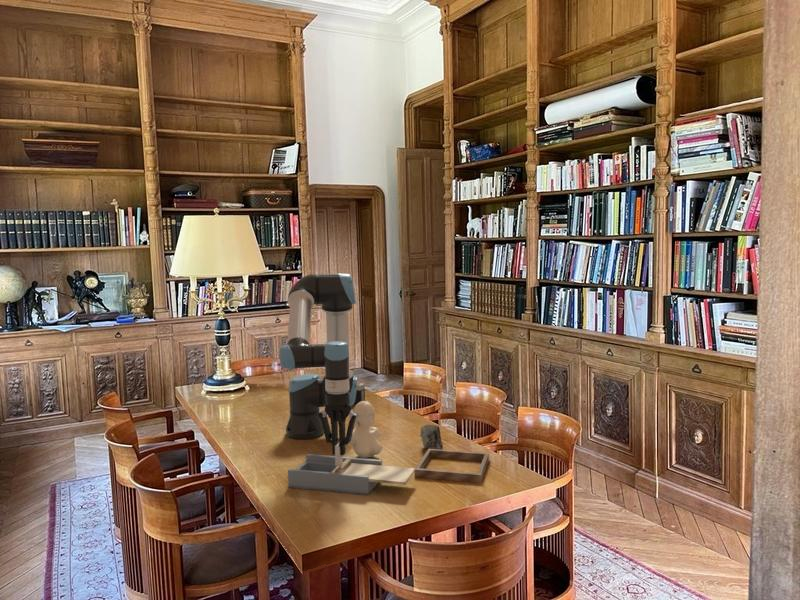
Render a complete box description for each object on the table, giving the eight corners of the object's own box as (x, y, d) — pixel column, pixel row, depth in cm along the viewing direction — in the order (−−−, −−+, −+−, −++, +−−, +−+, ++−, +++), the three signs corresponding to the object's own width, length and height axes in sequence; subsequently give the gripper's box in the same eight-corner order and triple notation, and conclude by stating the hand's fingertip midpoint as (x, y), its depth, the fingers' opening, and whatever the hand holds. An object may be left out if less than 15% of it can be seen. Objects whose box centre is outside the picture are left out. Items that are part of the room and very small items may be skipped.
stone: (446, 421, 225) (419, 419, 229) (440, 445, 219) (413, 442, 222) (449, 436, 232) (424, 433, 235) (444, 459, 226) (418, 456, 229)
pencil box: (288, 487, 193) (287, 470, 192) (307, 470, 207) (307, 453, 207) (367, 495, 186) (367, 477, 186) (382, 476, 201) (381, 460, 200)
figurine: (355, 464, 212) (354, 407, 210) (342, 456, 219) (341, 401, 218) (388, 456, 219) (388, 401, 217) (375, 449, 227) (374, 396, 225)
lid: (328, 477, 191) (328, 470, 190) (341, 464, 202) (341, 457, 202) (405, 484, 184) (405, 477, 184) (415, 470, 195) (414, 464, 195)
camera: (370, 401, 294) (369, 381, 293) (360, 405, 287) (359, 384, 286) (346, 398, 302) (346, 377, 301) (336, 402, 295) (335, 381, 294)
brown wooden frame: (414, 476, 200) (414, 469, 200) (428, 455, 220) (428, 448, 219) (480, 482, 195) (480, 475, 194) (488, 460, 214) (488, 453, 214)
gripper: (313, 393, 192) (315, 467, 194) (353, 395, 188) (354, 470, 190) (322, 387, 199) (324, 458, 201) (361, 389, 195) (362, 462, 198)
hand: (339, 464), depth 196 cm, fingers closed
